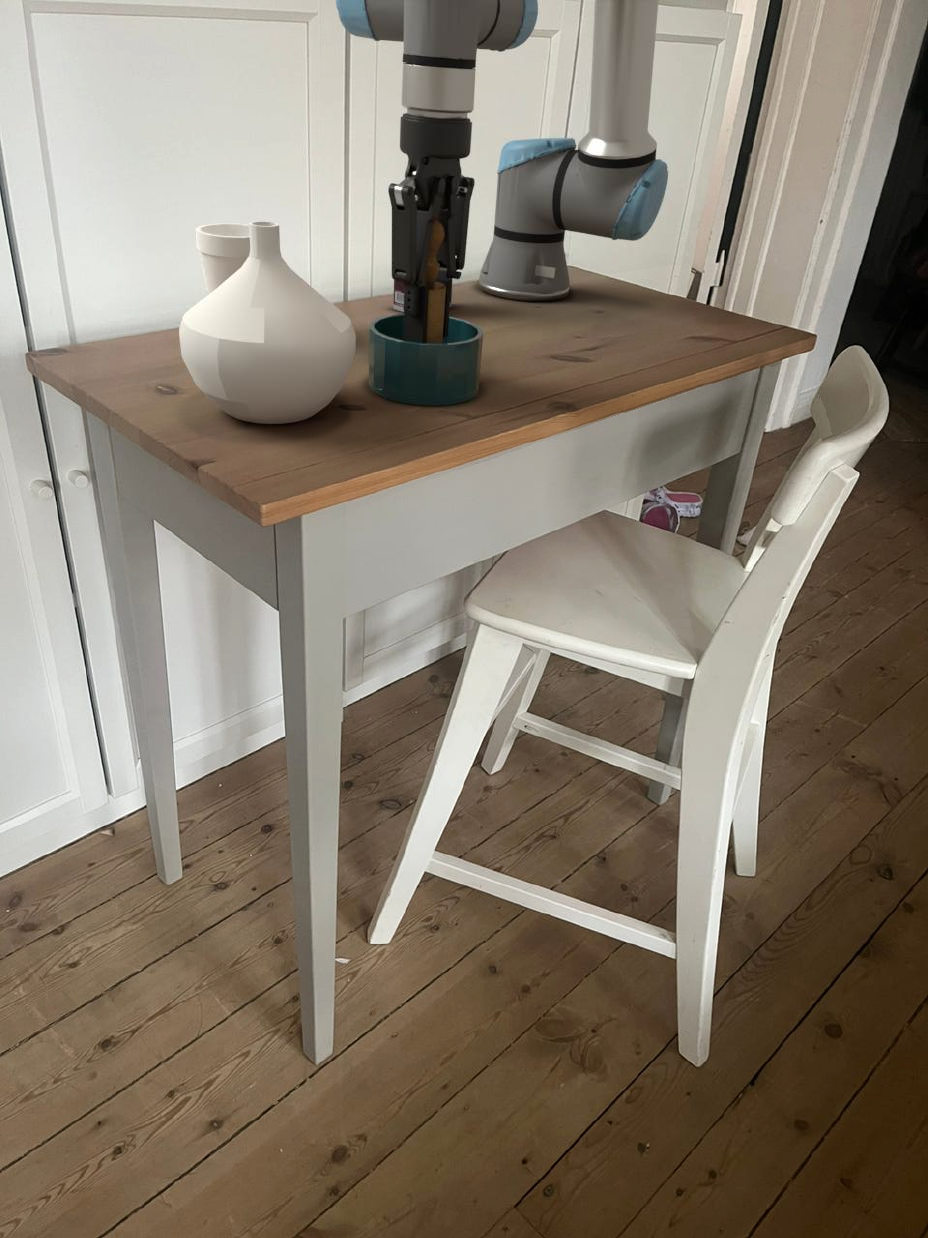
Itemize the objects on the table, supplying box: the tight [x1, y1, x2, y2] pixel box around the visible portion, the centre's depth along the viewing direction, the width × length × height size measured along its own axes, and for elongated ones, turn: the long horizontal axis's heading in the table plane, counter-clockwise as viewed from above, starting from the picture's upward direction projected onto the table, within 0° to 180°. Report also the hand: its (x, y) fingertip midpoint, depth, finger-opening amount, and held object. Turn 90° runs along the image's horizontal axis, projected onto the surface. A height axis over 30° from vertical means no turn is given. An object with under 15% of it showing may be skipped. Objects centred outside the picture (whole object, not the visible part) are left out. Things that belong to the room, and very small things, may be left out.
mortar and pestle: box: [424, 221, 446, 344], centre depth 109 cm, size 7×6×18 cm
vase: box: [178, 220, 357, 425], centre depth 99 cm, size 18×18×19 cm
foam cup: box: [194, 222, 250, 296], centre depth 125 cm, size 10×9×13 cm
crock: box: [368, 313, 484, 407], centre depth 112 cm, size 13×13×7 cm
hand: (426, 337), depth 111 cm, fingers closed on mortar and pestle, 4 cm apart
